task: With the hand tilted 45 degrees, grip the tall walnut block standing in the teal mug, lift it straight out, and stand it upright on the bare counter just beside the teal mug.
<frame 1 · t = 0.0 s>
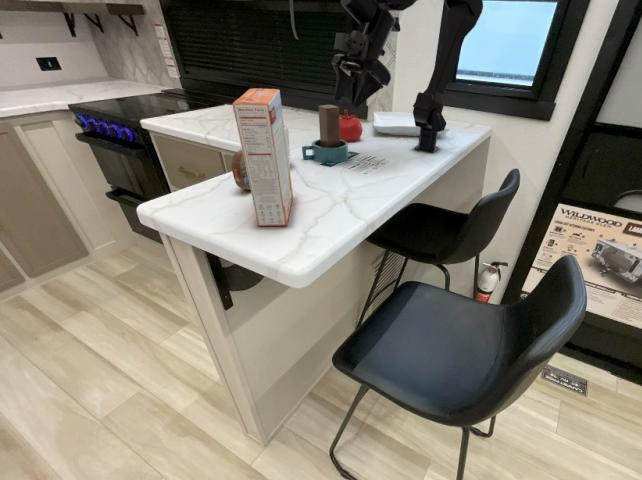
hand: (344, 103, 84), 15 cm above the worktop, tool tilted 35°, fingers open, 9 cm apart
teal mug: (330, 159, 96), on the worktop
white cup: (277, 168, 89), on the worktop
pomegranate: (347, 141, 113), on the worktop
block: (330, 157, 96), point 1 cm above the worktop, touching teal mug
cracker box: (276, 212, 68), on the worktop
square plate: (407, 130, 128), on the worktop
tin: (256, 184, 80), on the worktop
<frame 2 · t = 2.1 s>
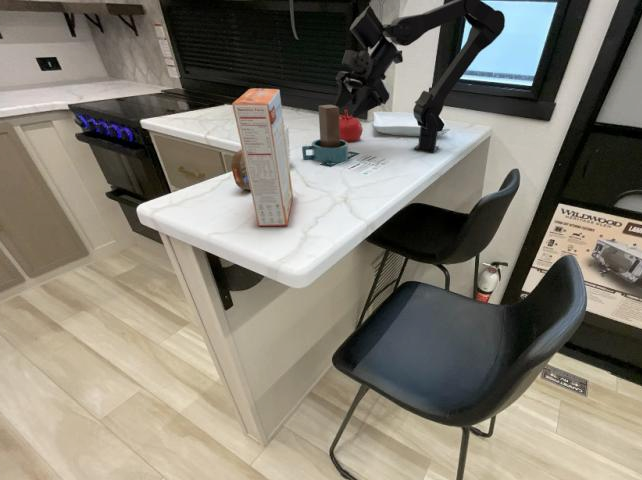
hand: (343, 113, 91), 12 cm above the worktop, tool tilted 45°, fingers open, 9 cm apart
nothing on the worktop moved.
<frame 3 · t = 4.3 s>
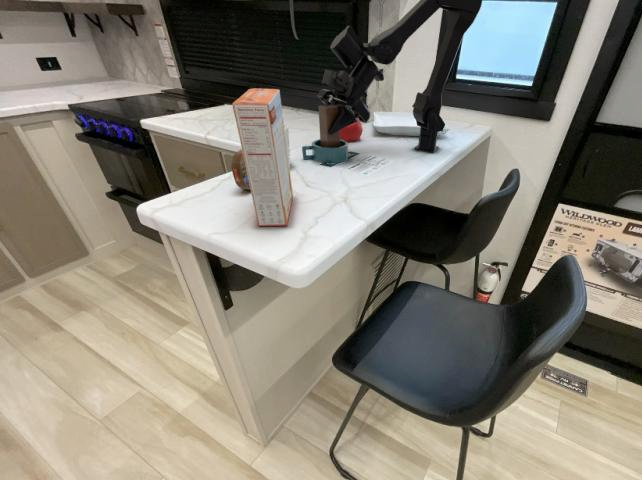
hand: (325, 131, 90), 8 cm above the worktop, tool tilted 45°, fingers closed on block, 4 cm apart
block: (330, 157, 96), point 1 cm above the worktop, touching gripper, teal mug
everything else where it was.
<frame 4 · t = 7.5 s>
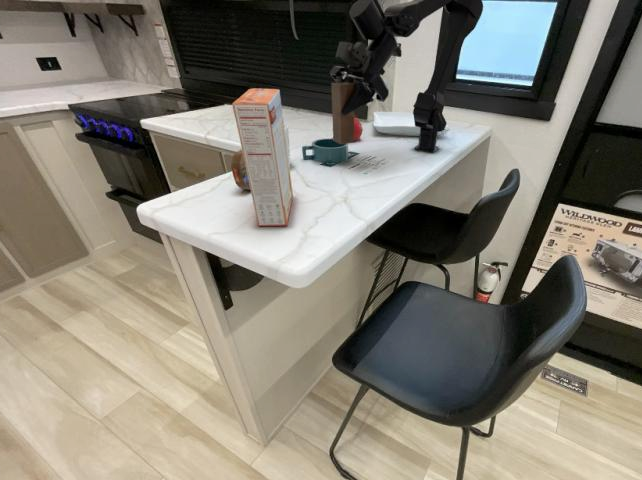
hand: (338, 112, 82), 13 cm above the worktop, tool tilted 45°, fingers closed on block, 4 cm apart
block: (343, 141, 88), point 6 cm above the worktop, touching gripper
everything else where it was.
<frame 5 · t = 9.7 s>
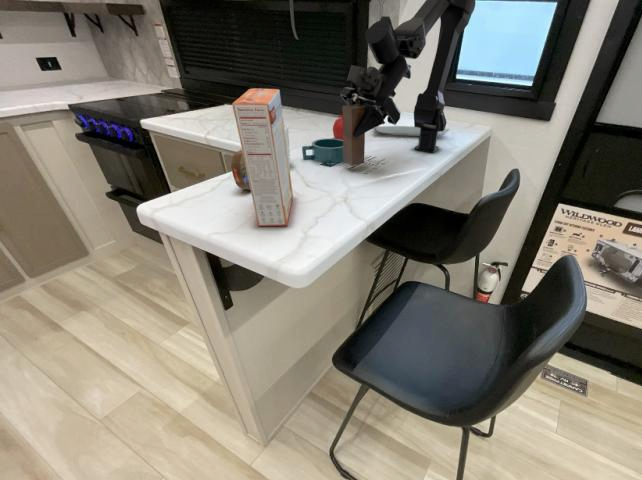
hand: (349, 134, 82), 9 cm above the worktop, tool tilted 45°, fingers closed on block, 4 cm apart
block: (353, 162, 87), point 2 cm above the worktop, touching gripper
everything else where it was.
when the fingers open (7 cm above the worktop, at t = 10.9 s): block stays where it is, on the worktop.
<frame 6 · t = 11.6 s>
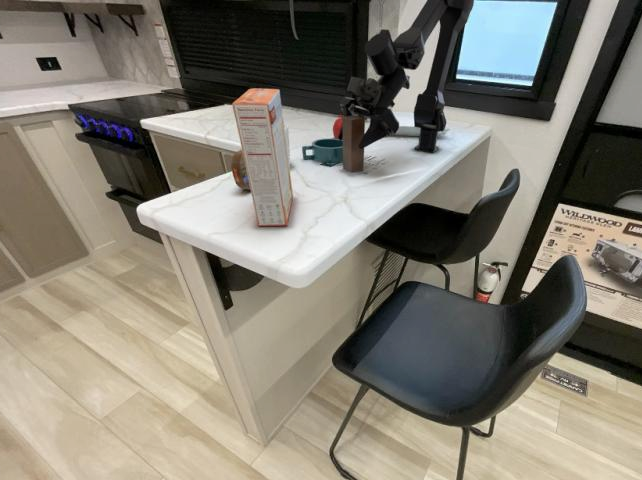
hand: (348, 143, 83), 7 cm above the worktop, tool tilted 45°, fingers open, 9 cm apart
block: (353, 171, 89), on the worktop
everything else where it was.
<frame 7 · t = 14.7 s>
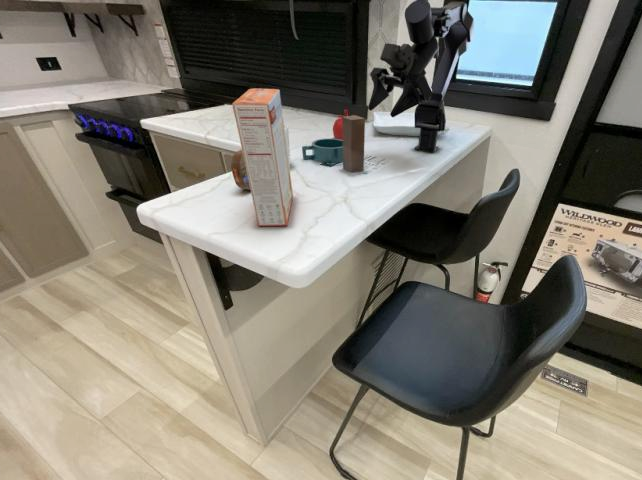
hand: (379, 112, 84), 13 cm above the worktop, tool tilted 45°, fingers open, 9 cm apart
nothing on the worktop moved.
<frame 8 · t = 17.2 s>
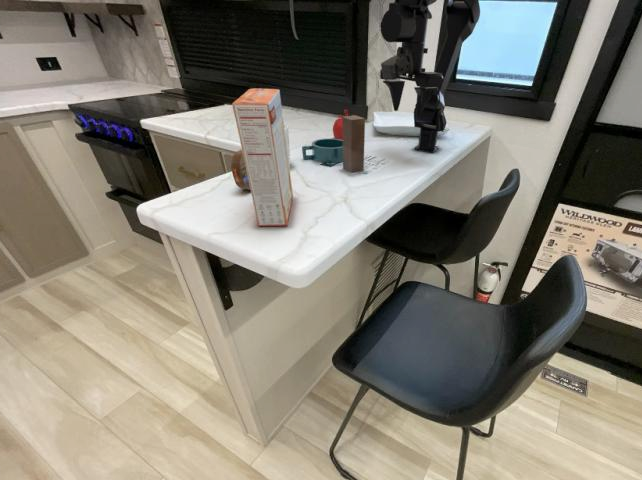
hand: (406, 113, 91), 12 cm above the worktop, tool pointing down, fingers open, 9 cm apart
nothing on the worktop moved.
at the end: block 0.0 cm from the target spot, on the worktop; block tilted 0°; the gripper is holding nothing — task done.
